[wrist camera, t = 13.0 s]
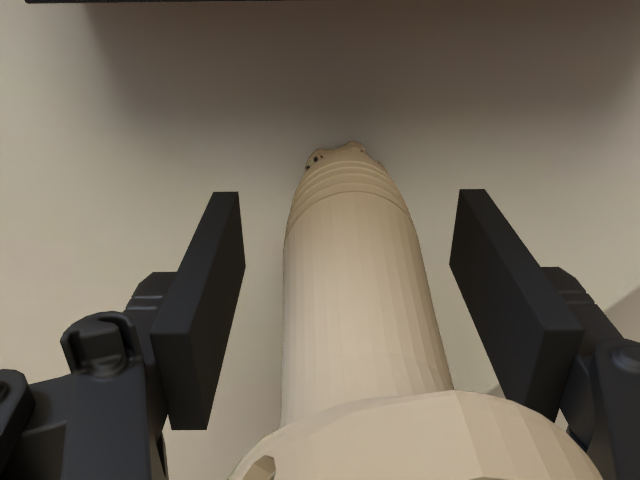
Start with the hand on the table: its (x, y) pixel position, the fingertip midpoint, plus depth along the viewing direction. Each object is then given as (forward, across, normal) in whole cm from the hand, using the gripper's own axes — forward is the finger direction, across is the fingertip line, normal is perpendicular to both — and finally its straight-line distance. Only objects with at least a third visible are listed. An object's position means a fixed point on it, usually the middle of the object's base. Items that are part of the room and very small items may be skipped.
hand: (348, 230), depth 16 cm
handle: (+5, 0, 0) cm, 5 cm away
